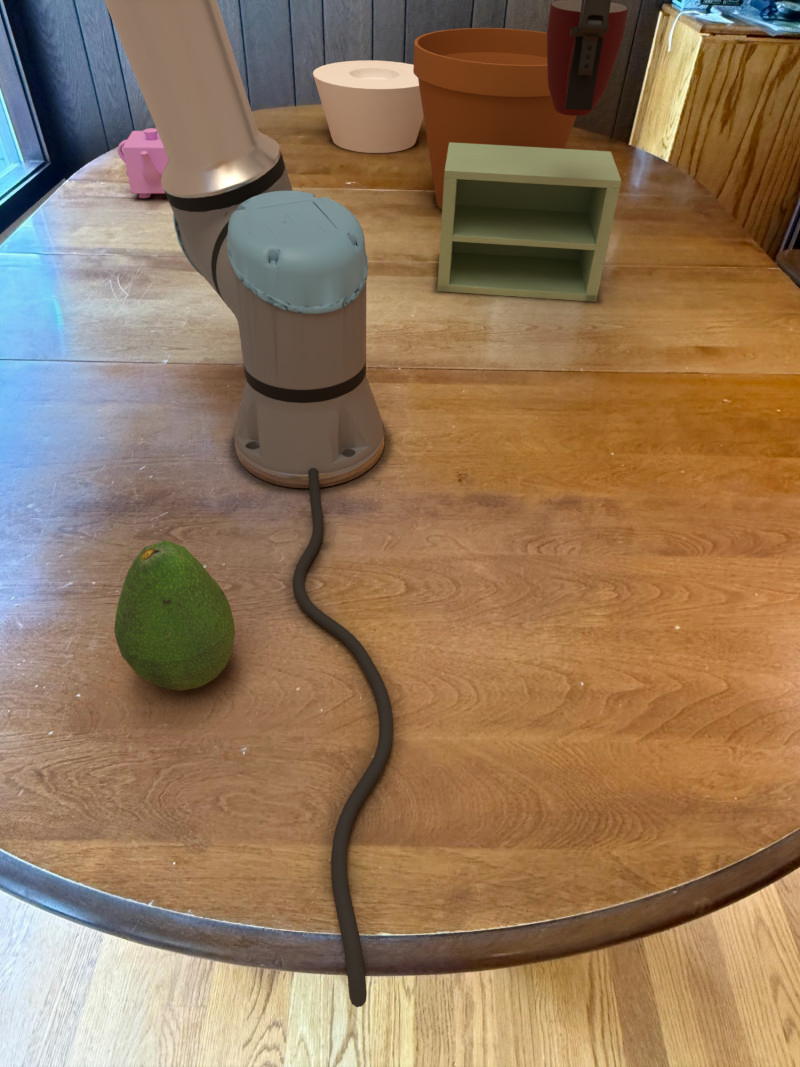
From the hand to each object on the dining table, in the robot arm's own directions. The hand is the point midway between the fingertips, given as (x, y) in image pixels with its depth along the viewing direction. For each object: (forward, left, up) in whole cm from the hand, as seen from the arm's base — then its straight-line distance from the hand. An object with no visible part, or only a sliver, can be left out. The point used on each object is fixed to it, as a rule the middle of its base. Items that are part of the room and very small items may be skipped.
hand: (575, 95), depth 86 cm
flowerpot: (+41, +7, -26) cm, 49 cm away
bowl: (+74, +31, -26) cm, 85 cm away
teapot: (+37, +64, -22) cm, 77 cm away
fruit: (-63, +29, -26) cm, 74 cm away
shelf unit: (+11, +3, -26) cm, 29 cm away
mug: (0, 0, -2) cm, 2 cm away
